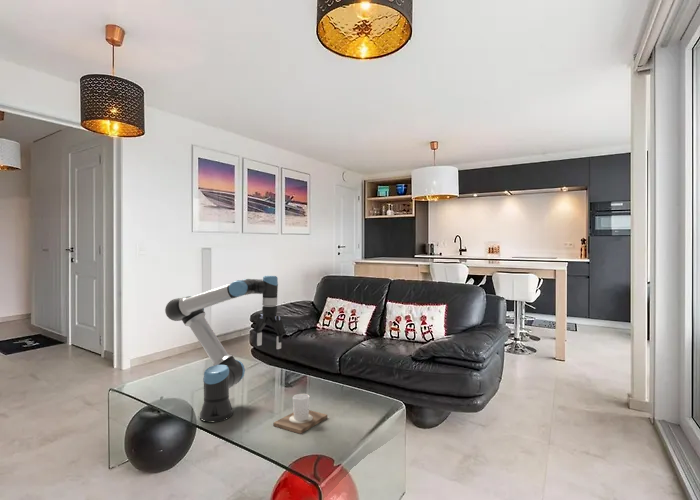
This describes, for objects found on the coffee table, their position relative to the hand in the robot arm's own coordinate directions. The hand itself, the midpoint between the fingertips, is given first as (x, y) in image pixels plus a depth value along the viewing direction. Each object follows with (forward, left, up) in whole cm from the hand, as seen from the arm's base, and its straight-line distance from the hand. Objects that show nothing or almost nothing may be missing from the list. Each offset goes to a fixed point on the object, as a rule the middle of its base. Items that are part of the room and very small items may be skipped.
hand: (268, 347), depth 196 cm
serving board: (-4, -24, -31) cm, 40 cm away
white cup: (-4, -25, -30) cm, 39 cm away
